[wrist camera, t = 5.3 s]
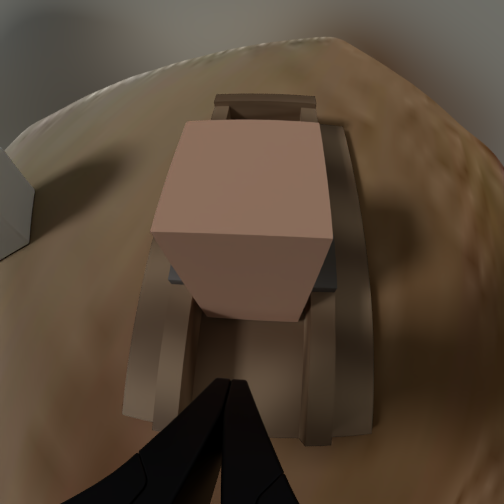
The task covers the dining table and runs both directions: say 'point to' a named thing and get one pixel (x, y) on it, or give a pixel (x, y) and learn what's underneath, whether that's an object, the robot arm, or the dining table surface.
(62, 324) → the dining table surface
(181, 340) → the walnut chute
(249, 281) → the terracotta block
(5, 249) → the medicine bottle
